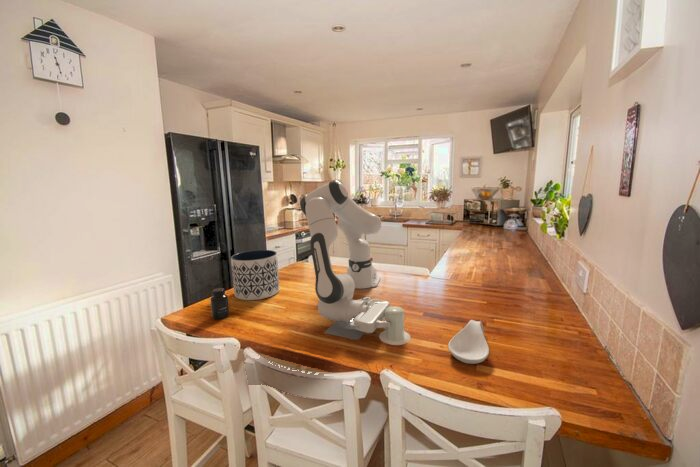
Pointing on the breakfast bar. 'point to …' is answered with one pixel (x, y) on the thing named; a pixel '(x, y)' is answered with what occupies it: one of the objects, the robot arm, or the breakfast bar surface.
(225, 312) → the supplement bottle
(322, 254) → the robot arm
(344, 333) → the felt mat
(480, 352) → the spoon rest
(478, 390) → the breakfast bar surface
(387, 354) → the breakfast bar surface
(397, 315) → the grey rounded cylinder
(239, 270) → the planter
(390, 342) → the coaster
